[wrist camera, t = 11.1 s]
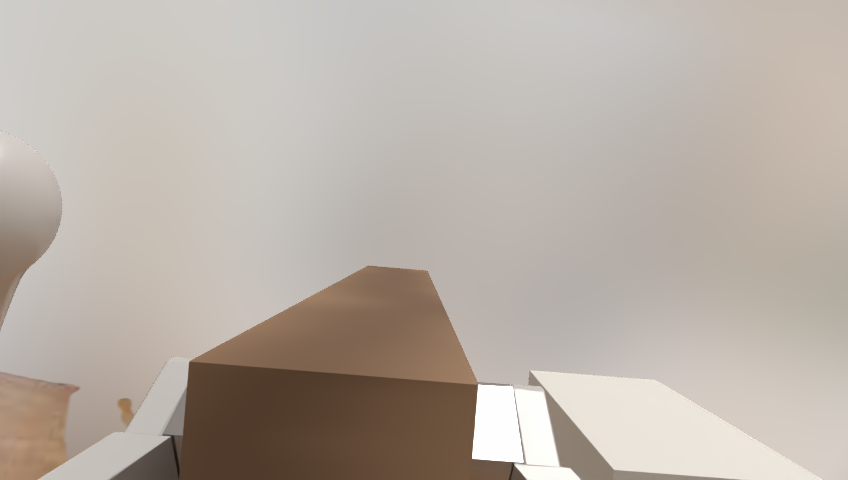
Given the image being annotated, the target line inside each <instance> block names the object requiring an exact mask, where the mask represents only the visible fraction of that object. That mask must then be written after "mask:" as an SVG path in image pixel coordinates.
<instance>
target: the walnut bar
mask: <svg viewBox="0 0 848 480" xmlns="http://www.w3.org/2000/svg"><path fill="white" fill-rule="evenodd" d="M478 387H479V385H478V382H477V380H476V378H475V376H474V374H473V371H472V369H471V367H470V365H469V362H468V360H467V358H466V356H465V354H464V351H463V349H462V347H461V345H460V342H459V340H458V338H457V336H456V334H455V331H454V329H453V327H452V325H451V322H450V320H449V318H448V316H447V313H446V311H445V309H444V307H443V305H442V302H441V300H440V298H439V296H438V293H437V291H436V289H435V287H434V285H433V282H432V280H431V278H430V276H429V273H428V271H424V270H412V269H400V268H388V267H376V266H367V267H365V268H363V269H362V270H359V271H357V272H356V273H354V274H352V275H350V276H348V277H346V278H345V279H343V280H341V281H339V282H337V283H335V284H333V285H331V286H329V287H328V288H326V289H324V290H322V291H320V292H318V293H316V294H314V295H313V296H311V297H309V298H307V299H305V300H303V301H301V302H299V303H298V304H296V305H294V306H292V307H290V308H288V309H287V310H285V311H283V312H281V313H279V314H277V315H275V316H273V317H271V318H270V319H268V320H266V321H264V322H262V323H260V324H258V325H256V326H255V327H253V328H251V329H249V330H247V331H245V332H243V333H241V334H240V335H238V336H236V337H234V338H232V339H230V340H229V341H226V342H225V343H223V344H221V345H219V346H217V347H215V348H213V349H212V350H210V351H208V352H206V353H204V354H202V355H201V356H198V357H197V358H195V359H193V360H191V361H189V369H188V380H187V392H186V404H185V415H184V427H183V438H182V450H181V462H180V473H179V480H471V470H472V458H473V446H474V434H475V422H476V410H477V399H478Z"/></svg>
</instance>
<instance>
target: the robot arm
mask: <svg viewBox="0 0 848 480" xmlns="http://www.w3.org/2000/svg"><path fill="white" fill-rule="evenodd" d="M61 215H62V199H61V192H60V188H59V185H58V182H57V180H56V177H55V175H54V173H53V171H52V170H51V168H50V166H49V165H48V164H47V163H46V161H45V160H44V159H43V158H42V157H41V155H40V154H39V153H38V152H37V151H35V150H34V149H33V148H32V147H31V146H29V145H28V144H26V143H25V142H23V141H22V140H20V139H18V138H16V137H14V136H12V135H10V134H7V133H5V132H3V131H0V330H1V327H2V324H3V321H4V318H5V316H6V313H7V311H8V308H9V305H10V303H11V301H12V298H13V295H14V293H15V291H16V288H17V286H18V284H19V281H20V279H21V278H22V276H23V274H24V273H25V272H26V270H27V269H28V268H29V267H30V266H31V265H32V264H34V263H35V262H36V261H37V260H38V259H39V258H40V257H41V256H42V255H43V254H44V253H45V252H46V250H47V249H48V248H49V246H50V245H51V243H52V241H53V240H54V238H55V236H56V233H57V231H58V228H59V225H60V221H61ZM191 360H193V359H192V358H183V357H173V358H171V359H170V360H169V361H167V362H166V364H165V365H164V367H163V368H162V370H161V372H160V373H159V375H158V377H157V378H156V380H155V382H154V383H153V385H152V387H151V388H150V390H149V392H148V394H147V395H146V397H145V398H144V400H143V402H142V403H141V405H140V407H139V408H138V410H137V412H136V413H135V415H134V417H133V418H132V420H131V422H130V423H129V425H128V427H127V428H126V430H125V432H113V433H112V434H110V435H109V436H107V437H105V438H104V439H102V440H101V441H99V442H97V443H96V444H94V445H93V446H91V447H89V448H88V449H86V450H84V451H83V452H81V453H80V454H78V455H76V456H75V457H73V458H72V459H70V460H68V461H67V462H65V463H64V464H62V465H60V466H59V467H57V468H56V469H54V470H52V471H51V472H49V473H48V474H46V475H44V476H43V477H41V478H39V479H38V480H179V473H180V462H181V450H182V438H183V427H184V415H185V404H186V392H187V380H188V369H189V361H191ZM478 385H479V387H478V399H477V410H476V422H475V434H474V446H473V458H472V470H471V480H581V479H580V478H579V477H578V476H577V475H576V474H575V473H574V472H573V470H572V469H571V468H566V467H561V466H560V461H559V457H558V452H557V447H556V442H555V438H554V433H553V428H552V424H551V419H550V414H549V409H548V405H547V400H546V395H545V391H544V389H543V388H542V387H541V386H529V385H514V384H512V385H509V384H495V383H481V382H478Z"/></svg>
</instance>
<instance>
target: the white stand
mask: <svg viewBox="0 0 848 480" xmlns="http://www.w3.org/2000/svg"><path fill="white" fill-rule="evenodd" d="M529 386H541V387H542V388H543V389H544V391H545V395H546V400H547V405H548V409H549V414H550V419H551V424H552V428H553V433H554V438H555V442H556V447H557V452H558V457H559V461H560V466H561V467H566V468H571V469H572V470H573V472H574V473H575V474H576V475H577V476H578V477H579V478H580V479H581V480H822V479H821V478H819V477H817V476H816V475H814V474H812V473H811V472H809V471H807V470H806V469H804V468H802V467H800V466H799V465H797V464H795V463H794V462H792V461H791V460H789V459H787V458H786V457H784V456H782V455H780V454H779V453H777V452H775V451H774V450H772V449H770V448H769V447H767V446H765V445H764V444H762V443H760V442H759V441H757V440H755V439H754V438H752V437H750V436H749V435H747V434H745V433H744V432H742V431H740V430H738V429H737V428H735V427H734V426H732V425H730V424H729V423H727V422H725V421H724V420H722V419H720V418H719V417H717V416H715V415H714V414H712V413H710V412H709V411H707V410H705V409H704V408H702V407H700V406H699V405H697V404H695V403H694V402H692V401H690V400H689V399H687V398H685V397H684V396H682V395H680V394H679V393H677V392H675V391H673V390H672V389H670V388H669V387H667V386H665V385H664V384H662V383H660V382H658V381H657V380H647V379H635V378H621V377H609V376H596V375H584V374H571V373H558V372H545V371H533V370H530V374H529Z"/></svg>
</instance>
